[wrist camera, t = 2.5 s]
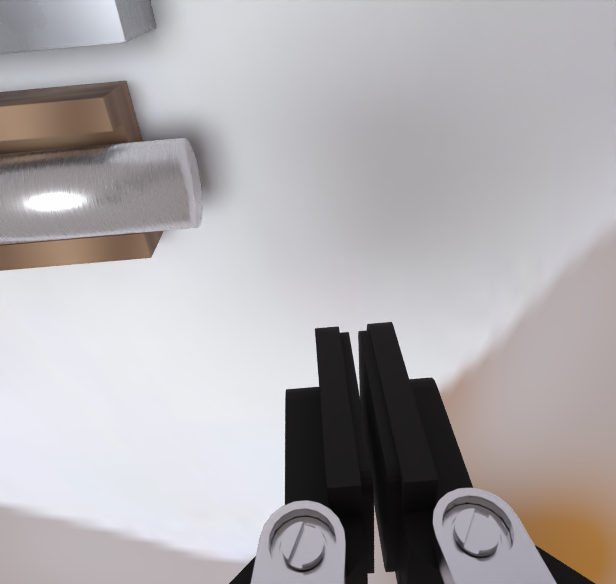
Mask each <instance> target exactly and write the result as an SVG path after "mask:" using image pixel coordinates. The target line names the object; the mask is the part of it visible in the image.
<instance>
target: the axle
mask: <svg viewBox="0 0 616 584" xmlns="http://www.w3.org/2000/svg"><path fill="white" fill-rule="evenodd" d="M201 219H202V189H201V181H200V175H199V170H198V165H197V161H196V157H195V154H194V151H193V149H192V146H191V144H190V142H189V141H188V140H187V139H186V138H177V139H166V140H155V141H144V142H132V143H121V144H110V145H99V146H88V147H77V148H65V149H54V150H43V151H32V152H21V153H10V154H0V245H2V244H14V243H25V242H37V241H48V240H60V239H71V238H83V237H95V236H106V235H118V234H129V233H141V232H152V231H164V230H176V229H187V228H197V227H199V225H200V223H201Z"/></svg>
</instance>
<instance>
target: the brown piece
mask: <svg viewBox="0 0 616 584" xmlns="http://www.w3.org/2000/svg"><path fill="white" fill-rule="evenodd" d="M132 142H142V138H141V135H140V131H139V127H138V123H137V120H136V116H135V112H134V109H133V105H132V101H131V98H130V94H129V90H128V87H127V83H126V81H119V82H108V83H97V84H86V85H75V86H64V87H53V88H43V89H32V90H21V91H10V92H0V154H10V153H21V152H32V151H43V150H54V149H65V148H77V147H88V146H99V145H110V144H121V143H132ZM162 233H163V231H152V232H141V233H129V234H118V235H106V236H95V237H83V238H71V239H60V240H48V241H37V242H25V243H14V244H2V245H0V271H1V270H13V269H25V268H36V267H48V266H60V265H71V264H83V263H95V262H106V261H118V260H130V259H141V258H151V257H152V255H153V253H154V250H155V248H156V246H157V244H158V242H159V240H160V238H161V235H162Z"/></svg>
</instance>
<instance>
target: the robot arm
mask: <svg viewBox="0 0 616 584" xmlns="http://www.w3.org/2000/svg"><path fill="white" fill-rule="evenodd" d="M315 336H316V349H317V362H318V375H319V387H311V388H298V389H286V398H285V505H284V506H282V507H281V508H279V509H278V510H277V511H275V512H274V513H273V514H272V515H271V516H270V518H269V519H268V520H267V522H266V523H265V524H264V527H263V530H262V532H261V535H260V539H259V544H258V549H257V554H256V556H255V557H254V558H253V559H252V560H251V562H250V563H249V564H248V565H247V566H246V567H245V568H244V569H243V570H242V571H241V572H240V573H239V574H238V575H237V576H236V577H235V578H234V579H233V580H232V581H231V582H230V583H229V584H368V579H367V578H368V577H367V574H368V573H374V506H375V512H376V518H377V525H378V531H379V537H380V543H381V550H382V556H383V562H384V567H385V571H386V572H394V571H395V573H396V579H397V584H595V583H593V582H592V581H590V580H588V579H587V578H586V577H584V576H582V575H581V574H579V573H578V572H576V571H575V570H573V569H571V568H570V567H568V566H567V565H565V564H564V563H562V562H561V561H559V560H557V559H556V558H554V557H553V556H551V555H550V554H548V553H546V552H545V551H543V550H542V549H540V548H539V547H537V546H535V545H534V544H533V542H532V540H531V538H530V537H529V535H528V533H527V531H526V530H525V528H524V526H523V525H522V523H521V521H520V520H519V518H518V516H517V515H516V514H515V512H514V511H513V510H512V508H511V507H510V506H509V505H508V504H507V503H505V502H504V501H503V500H501V499H500V498H499V497H498V496H496V495H493V494H491V493H489V492H487V491H485V490H481V489H475V488H473V486H472V483H471V480H470V478H469V475H468V472H467V469H466V467H465V464H464V461H463V458H462V455H461V452H460V449H459V447H458V444H457V441H456V438H455V435H454V433H453V430H452V427H451V424H450V421H449V419H448V416H447V413H446V410H445V407H444V404H443V402H442V399H441V396H440V393H439V390H438V388H437V385H436V383H435V380H434V379H433V378H420V379H409V378H408V374H407V371H406V367H405V364H404V361H403V357H402V354H401V350H400V347H399V344H398V340H397V337H396V333H395V330H394V326H393V324H392V322H387V323H375V324H367V331H359V332H358V341H359V379H360V396H359V390H358V384H357V378H356V372H355V366H354V361H353V355H352V349H351V343H350V337H349V332H344V333H340V332H339V327H327V328H315Z"/></svg>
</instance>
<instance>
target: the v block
mask: <svg viewBox="0 0 616 584" xmlns="http://www.w3.org/2000/svg"><path fill="white" fill-rule="evenodd" d="M154 28H156V25H155V20H154V16H153V12H152V7H151V3H150V0H0V54H4V53H14V52H25V51H36V50H47V49H57V48H68V47H79V46H90V45H100V44H111V43H122V42H127V41H129V40H131V39H133V38H135V37H137V36H139V35H142V34H144V33H146V32H148V31H150V30H152V29H154Z"/></svg>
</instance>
